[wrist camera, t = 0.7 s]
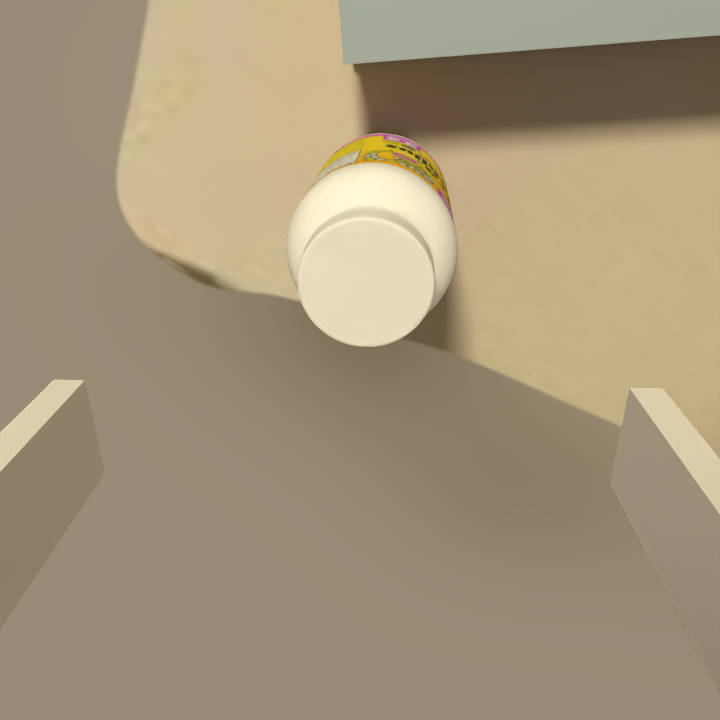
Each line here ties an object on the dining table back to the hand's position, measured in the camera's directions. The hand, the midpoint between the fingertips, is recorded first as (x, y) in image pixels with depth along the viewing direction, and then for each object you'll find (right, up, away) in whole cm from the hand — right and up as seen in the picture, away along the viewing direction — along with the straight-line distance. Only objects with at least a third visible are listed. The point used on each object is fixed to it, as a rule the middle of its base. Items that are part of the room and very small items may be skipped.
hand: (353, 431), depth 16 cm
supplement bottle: (+1, +10, +17) cm, 20 cm away
